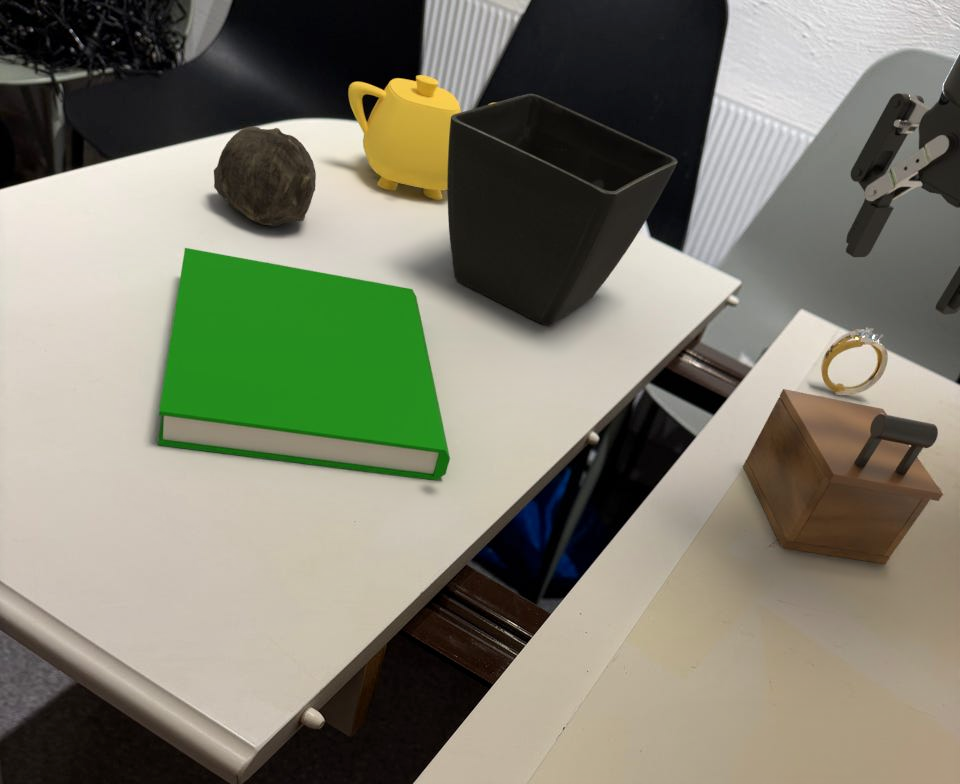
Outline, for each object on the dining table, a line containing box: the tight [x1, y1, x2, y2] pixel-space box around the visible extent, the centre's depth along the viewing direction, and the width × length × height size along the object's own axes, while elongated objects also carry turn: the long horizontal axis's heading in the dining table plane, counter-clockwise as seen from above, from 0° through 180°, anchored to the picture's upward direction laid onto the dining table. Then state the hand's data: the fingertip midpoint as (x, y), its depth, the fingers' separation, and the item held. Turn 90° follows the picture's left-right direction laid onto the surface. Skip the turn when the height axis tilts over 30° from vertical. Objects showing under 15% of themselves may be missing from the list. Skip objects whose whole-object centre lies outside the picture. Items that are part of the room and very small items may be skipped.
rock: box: [213, 125, 317, 227], centre depth 105 cm, size 10×11×10 cm
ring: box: [820, 326, 889, 396], centre depth 110 cm, size 7×3×8 cm, turn 82°
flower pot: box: [446, 93, 678, 326], centre depth 106 cm, size 19×19×17 cm
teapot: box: [347, 74, 498, 201], centre depth 123 cm, size 13×20×12 cm
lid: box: [779, 388, 944, 502], centre depth 84 cm, size 14×11×6 cm
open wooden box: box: [742, 396, 931, 565], centre depth 89 cm, size 13×11×8 cm
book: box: [157, 247, 451, 481], centre depth 86 cm, size 22×28×3 cm
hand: (898, 282), depth 70 cm, fingers open, 8 cm apart
